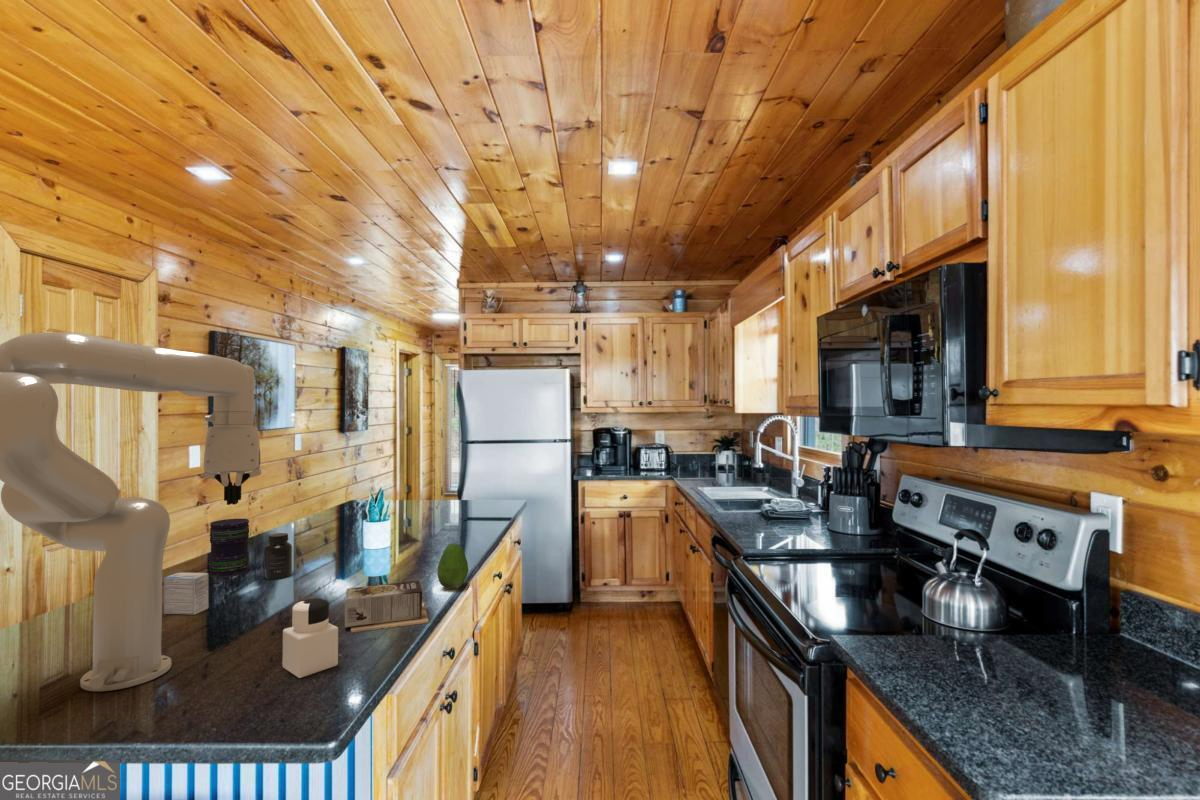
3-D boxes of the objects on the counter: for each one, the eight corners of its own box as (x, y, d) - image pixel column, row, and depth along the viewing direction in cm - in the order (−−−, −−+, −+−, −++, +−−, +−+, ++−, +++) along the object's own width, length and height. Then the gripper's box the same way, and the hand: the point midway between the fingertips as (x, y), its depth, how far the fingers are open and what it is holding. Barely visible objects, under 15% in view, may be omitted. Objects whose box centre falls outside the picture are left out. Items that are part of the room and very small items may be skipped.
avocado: (460, 593, 150) (461, 547, 150) (432, 591, 151) (432, 545, 152) (472, 584, 158) (472, 540, 158) (445, 583, 159) (445, 539, 160)
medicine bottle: (320, 655, 112) (321, 593, 112) (338, 665, 108) (339, 600, 108) (281, 667, 107) (282, 602, 107) (298, 679, 102) (299, 610, 102)
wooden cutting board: (428, 622, 129) (428, 620, 129) (350, 632, 123) (350, 630, 123) (421, 596, 148) (421, 594, 148) (353, 603, 142) (353, 601, 142)
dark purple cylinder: (215, 569, 173) (216, 519, 174) (252, 566, 176) (253, 517, 177) (203, 578, 164) (204, 525, 164) (243, 575, 167) (244, 523, 167)
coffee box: (346, 587, 133) (419, 579, 139) (345, 615, 133) (419, 606, 139) (344, 598, 124) (423, 589, 130) (344, 628, 124) (422, 618, 130)
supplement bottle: (265, 574, 168) (266, 533, 168) (292, 572, 170) (292, 531, 171) (263, 581, 161) (263, 537, 162) (291, 578, 164) (291, 535, 164)
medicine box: (209, 609, 139) (209, 572, 139) (194, 615, 134) (194, 578, 134) (178, 608, 139) (179, 571, 140) (163, 614, 135) (163, 577, 135)
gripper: (188, 420, 121) (186, 508, 121) (269, 420, 127) (268, 504, 126) (198, 420, 128) (197, 503, 128) (275, 419, 134) (274, 499, 133)
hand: (232, 503), depth 127 cm, fingers closed
